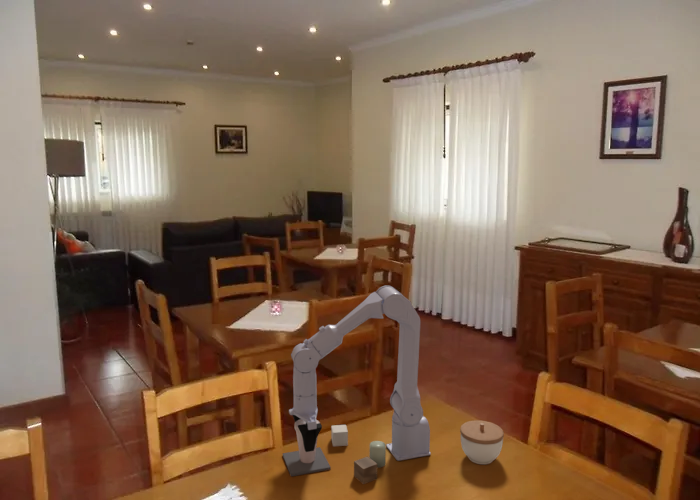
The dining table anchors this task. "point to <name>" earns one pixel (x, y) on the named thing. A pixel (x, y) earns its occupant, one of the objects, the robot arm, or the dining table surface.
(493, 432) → the lidded jar
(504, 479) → the dining table surface
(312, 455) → the smoothie
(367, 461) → the walnut block
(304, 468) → the mat
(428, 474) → the dining table surface
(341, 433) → the grey block
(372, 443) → the sage tin
